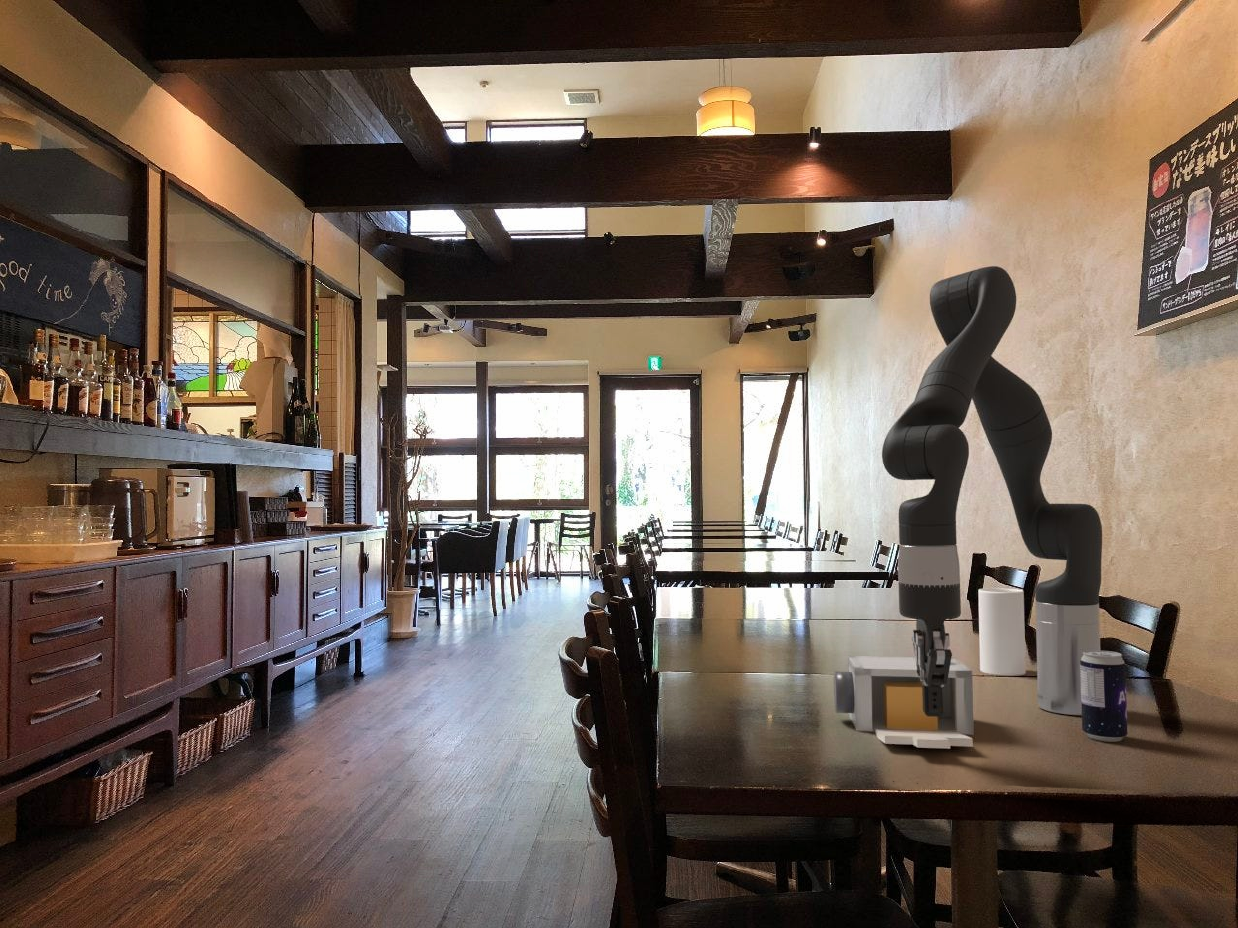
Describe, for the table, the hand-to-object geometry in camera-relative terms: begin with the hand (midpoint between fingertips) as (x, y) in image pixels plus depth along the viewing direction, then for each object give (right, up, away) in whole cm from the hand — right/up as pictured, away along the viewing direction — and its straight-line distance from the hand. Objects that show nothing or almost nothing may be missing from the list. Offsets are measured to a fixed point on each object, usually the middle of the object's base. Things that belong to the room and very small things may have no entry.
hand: (932, 714), depth 113 cm
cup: (+35, -9, +60) cm, 70 cm away
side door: (+1, -6, +11) cm, 12 cm away
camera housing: (+1, -7, +17) cm, 18 cm away
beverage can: (+29, -7, +12) cm, 32 cm away
